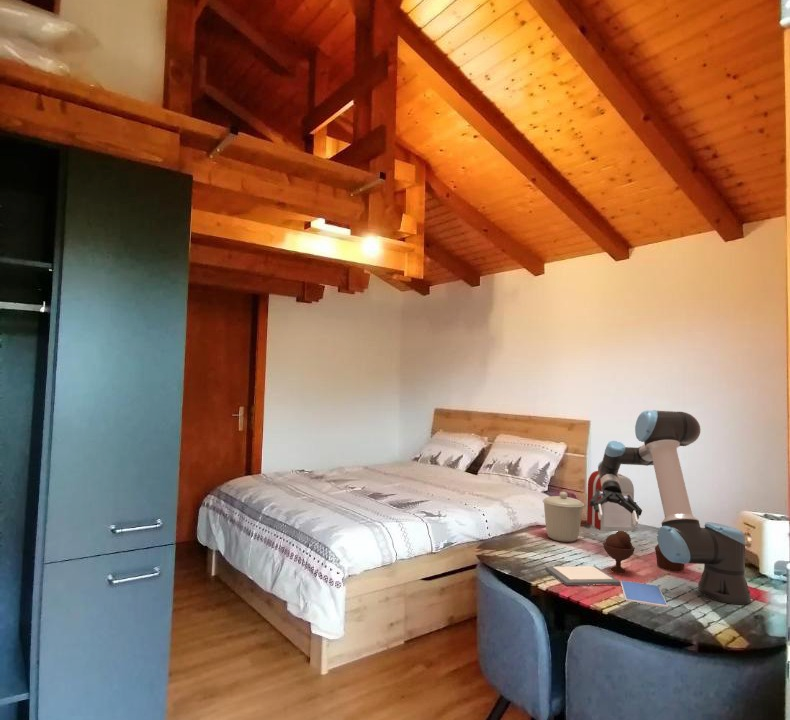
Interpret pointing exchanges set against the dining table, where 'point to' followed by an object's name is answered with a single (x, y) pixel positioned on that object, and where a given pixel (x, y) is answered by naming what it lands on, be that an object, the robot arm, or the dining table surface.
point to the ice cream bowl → (619, 549)
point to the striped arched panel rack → (610, 506)
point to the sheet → (582, 573)
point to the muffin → (667, 562)
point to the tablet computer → (643, 594)
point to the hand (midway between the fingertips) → (618, 520)
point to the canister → (562, 517)
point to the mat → (568, 582)
